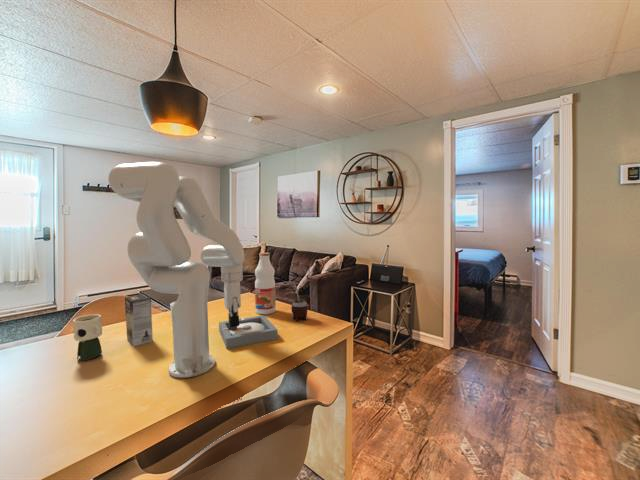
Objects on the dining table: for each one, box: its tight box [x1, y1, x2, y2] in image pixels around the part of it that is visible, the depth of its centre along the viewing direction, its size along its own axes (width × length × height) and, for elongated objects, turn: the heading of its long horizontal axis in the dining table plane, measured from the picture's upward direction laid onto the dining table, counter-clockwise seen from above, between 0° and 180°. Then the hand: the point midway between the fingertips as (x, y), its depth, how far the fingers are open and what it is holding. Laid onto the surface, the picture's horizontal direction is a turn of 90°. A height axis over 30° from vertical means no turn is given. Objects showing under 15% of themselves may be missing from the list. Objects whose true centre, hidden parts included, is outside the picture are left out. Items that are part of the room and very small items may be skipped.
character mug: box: [72, 313, 103, 361], centre depth 93 cm, size 11×7×13 cm, turn 70°
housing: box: [218, 314, 279, 350], centre depth 111 cm, size 18×18×4 cm
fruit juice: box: [254, 251, 277, 315], centre depth 138 cm, size 9×9×28 cm
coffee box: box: [124, 293, 154, 347], centre depth 106 cm, size 9×6×16 cm
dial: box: [228, 309, 264, 336], centre depth 111 cm, size 13×13×9 cm
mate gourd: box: [290, 282, 309, 323], centre depth 127 cm, size 8×8×15 cm
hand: (233, 324), depth 110 cm, fingers open, 3 cm apart
